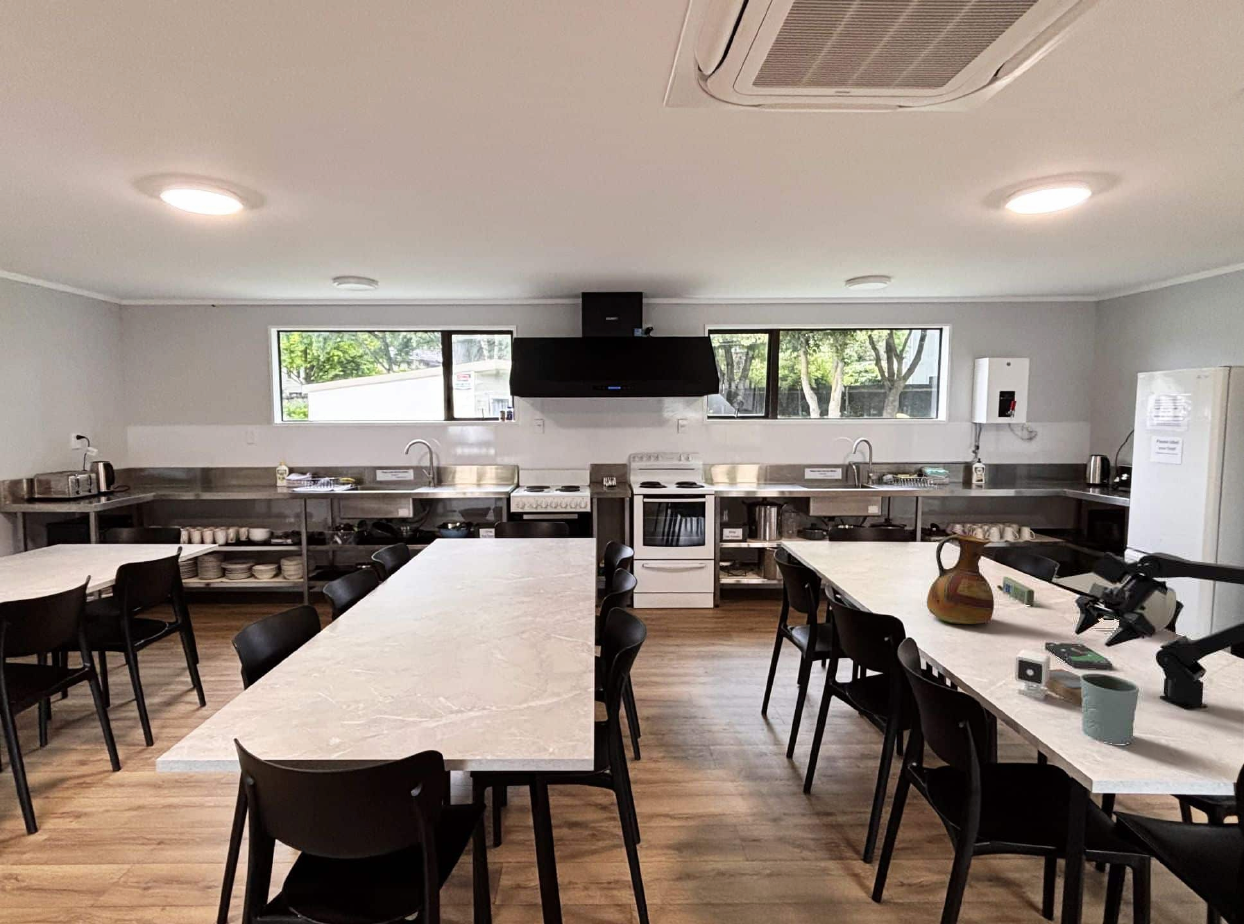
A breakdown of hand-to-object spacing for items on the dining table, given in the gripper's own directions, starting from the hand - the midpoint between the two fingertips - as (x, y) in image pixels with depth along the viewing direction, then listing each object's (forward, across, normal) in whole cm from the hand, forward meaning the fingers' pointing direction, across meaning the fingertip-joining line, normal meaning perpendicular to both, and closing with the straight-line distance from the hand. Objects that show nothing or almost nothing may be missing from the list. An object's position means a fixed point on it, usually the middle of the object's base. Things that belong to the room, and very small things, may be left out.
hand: (1090, 639), depth 158 cm
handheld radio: (-20, -83, +38) cm, 93 cm away
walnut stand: (+13, 0, +6) cm, 15 cm away
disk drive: (0, -21, +20) cm, 29 cm away
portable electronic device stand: (-27, -50, +46) cm, 73 cm away
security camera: (+21, 0, -1) cm, 21 cm away
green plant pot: (+20, +21, 0) cm, 29 cm away
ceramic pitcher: (+8, -57, +11) cm, 58 cm away
